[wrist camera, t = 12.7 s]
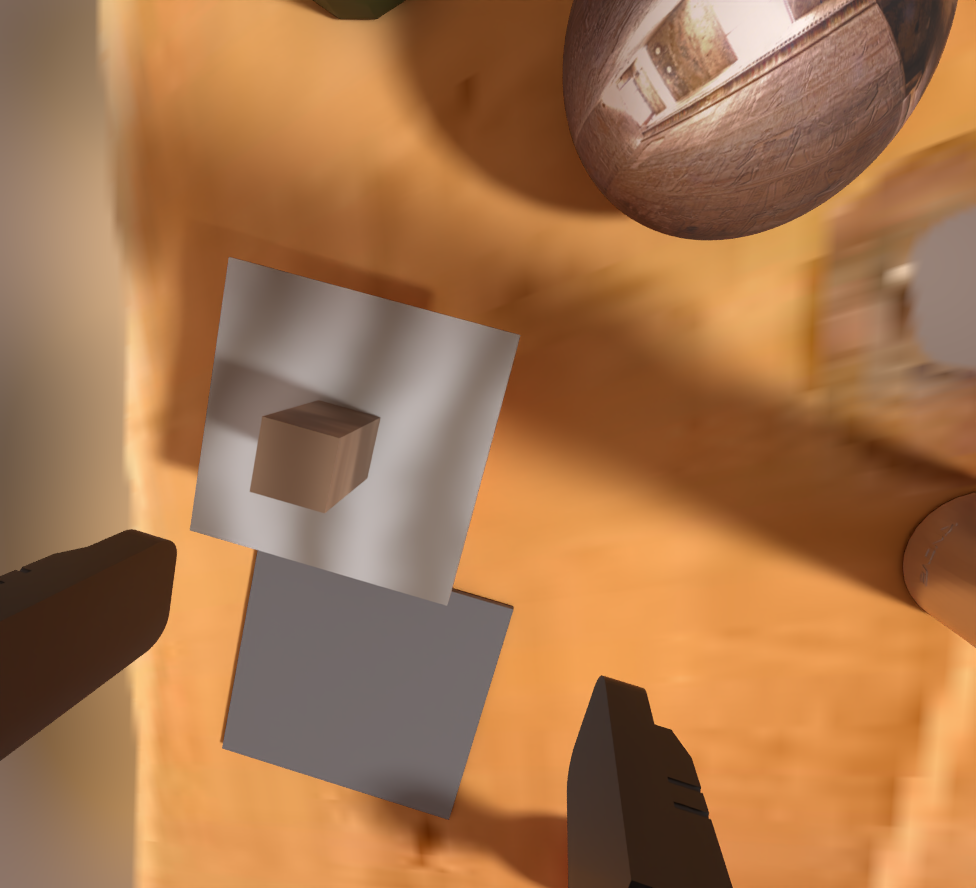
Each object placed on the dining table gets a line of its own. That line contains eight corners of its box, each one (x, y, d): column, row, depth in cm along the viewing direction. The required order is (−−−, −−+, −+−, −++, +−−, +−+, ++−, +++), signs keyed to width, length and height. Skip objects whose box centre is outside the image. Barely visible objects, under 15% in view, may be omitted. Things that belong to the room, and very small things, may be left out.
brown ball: (506, 146, 32) (475, -15, 17) (688, -90, 29) (840, -536, 14) (688, 312, 33) (806, 293, 18) (885, 101, 29) (1223, -131, 15)
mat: (513, 606, 38) (513, 609, 37) (449, 815, 42) (448, 819, 42) (263, 532, 39) (260, 534, 38) (225, 744, 43) (222, 748, 42)
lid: (520, 335, 28) (513, 335, 21) (449, 599, 32) (424, 669, 25) (237, 259, 29) (146, 236, 22) (198, 525, 32) (109, 574, 26)
